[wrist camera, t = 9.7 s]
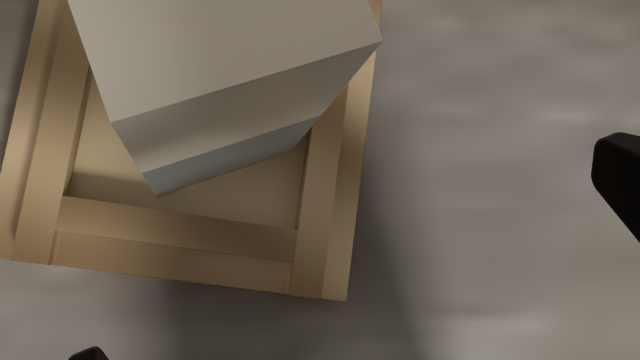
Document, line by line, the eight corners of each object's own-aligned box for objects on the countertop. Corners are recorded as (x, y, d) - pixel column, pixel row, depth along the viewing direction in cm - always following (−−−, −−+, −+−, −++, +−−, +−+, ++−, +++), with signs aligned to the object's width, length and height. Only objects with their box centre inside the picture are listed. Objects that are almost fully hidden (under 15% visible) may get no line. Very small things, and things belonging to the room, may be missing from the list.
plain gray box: (290, 152, 19) (383, 40, 10) (156, 197, 18) (110, 122, 9) (244, 26, 20) (289, -205, 10) (109, 63, 19) (14, -154, 9)
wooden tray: (337, 299, 20) (352, 303, 18) (-5, 255, 18) (-28, 255, 16) (373, 3, 22) (390, -22, 20) (66, -66, 20) (52, -101, 18)
